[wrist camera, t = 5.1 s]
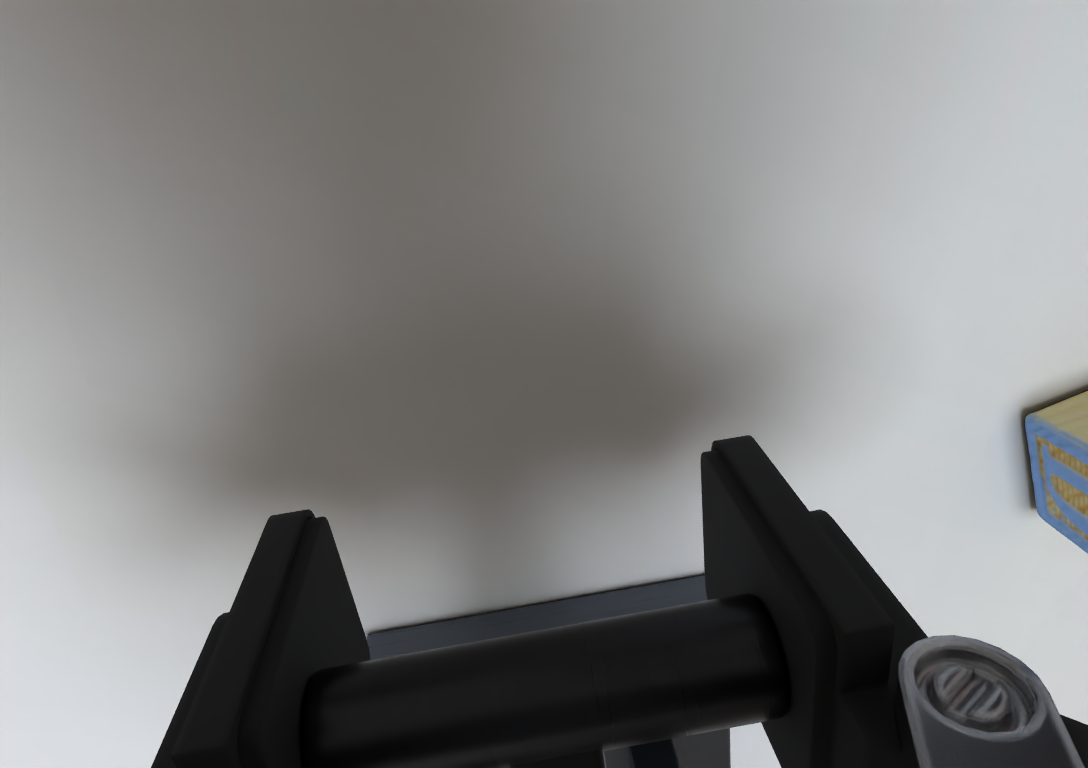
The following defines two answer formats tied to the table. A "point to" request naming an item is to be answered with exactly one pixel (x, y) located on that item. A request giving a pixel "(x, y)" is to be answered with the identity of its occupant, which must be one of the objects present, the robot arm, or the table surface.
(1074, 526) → the alphabet block
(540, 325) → the table surface
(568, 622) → the bracket
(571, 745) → the lever
